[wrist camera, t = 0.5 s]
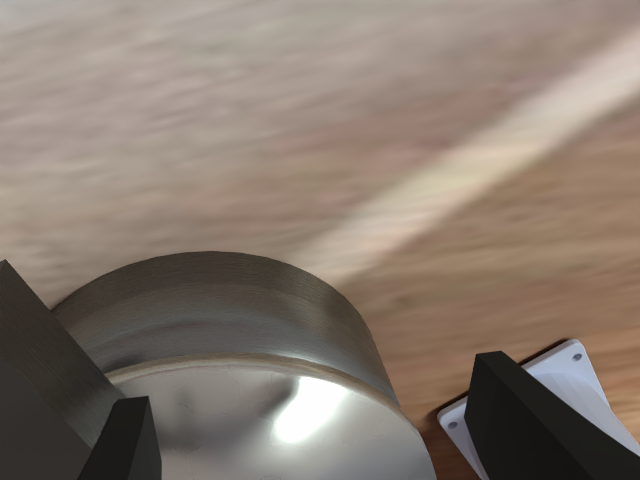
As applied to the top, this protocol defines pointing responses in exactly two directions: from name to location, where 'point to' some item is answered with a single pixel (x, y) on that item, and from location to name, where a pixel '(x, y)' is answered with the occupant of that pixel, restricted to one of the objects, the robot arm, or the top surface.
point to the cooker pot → (219, 314)
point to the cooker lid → (192, 409)
